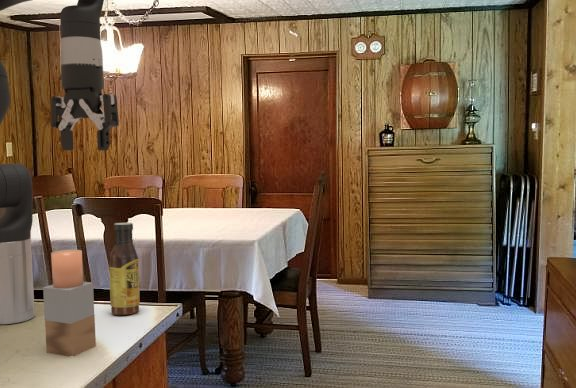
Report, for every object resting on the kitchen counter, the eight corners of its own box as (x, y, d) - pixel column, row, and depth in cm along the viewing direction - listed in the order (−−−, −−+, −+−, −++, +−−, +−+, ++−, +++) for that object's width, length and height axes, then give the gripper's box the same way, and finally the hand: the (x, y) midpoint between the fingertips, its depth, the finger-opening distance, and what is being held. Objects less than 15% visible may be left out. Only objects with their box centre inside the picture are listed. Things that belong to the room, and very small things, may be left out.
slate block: (44, 320, 108) (43, 287, 107) (69, 311, 113) (67, 280, 113) (70, 323, 105) (69, 290, 105) (94, 314, 111) (92, 282, 110)
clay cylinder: (46, 287, 108) (44, 253, 107) (67, 280, 112) (65, 248, 112) (69, 289, 106) (67, 255, 105) (89, 282, 110) (88, 250, 110)
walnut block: (46, 352, 108) (45, 320, 108) (70, 342, 114) (69, 311, 113) (72, 357, 106) (70, 323, 105) (95, 346, 111) (94, 314, 111)
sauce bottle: (132, 317, 130) (128, 225, 128) (105, 315, 131) (101, 225, 129) (145, 308, 136) (142, 221, 134) (119, 307, 137) (116, 221, 135)
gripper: (38, 64, 113) (42, 150, 114) (98, 59, 107) (101, 150, 109) (67, 68, 120) (70, 150, 121) (125, 64, 114) (128, 150, 115)
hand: (85, 150), depth 115 cm, fingers open, 8 cm apart
